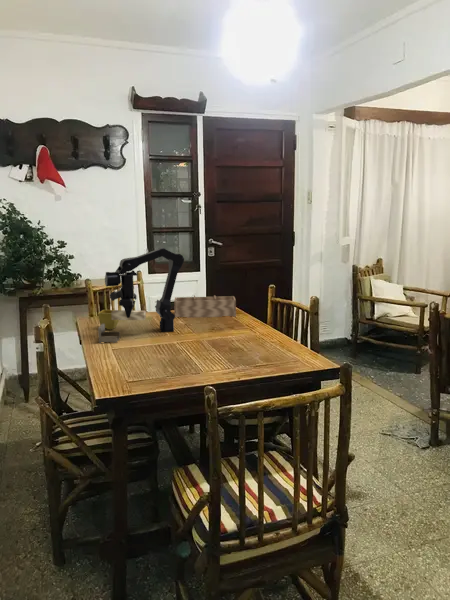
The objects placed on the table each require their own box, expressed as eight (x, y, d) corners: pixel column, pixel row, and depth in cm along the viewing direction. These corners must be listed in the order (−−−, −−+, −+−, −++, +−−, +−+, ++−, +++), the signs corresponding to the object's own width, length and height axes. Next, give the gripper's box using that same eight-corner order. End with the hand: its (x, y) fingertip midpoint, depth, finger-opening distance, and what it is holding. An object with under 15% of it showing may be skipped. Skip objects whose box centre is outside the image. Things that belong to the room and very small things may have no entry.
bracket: (120, 337, 235) (119, 323, 234) (117, 342, 225) (116, 328, 224) (102, 337, 235) (102, 323, 233) (98, 343, 225) (98, 328, 223)
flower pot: (120, 326, 257) (119, 309, 255) (115, 330, 248) (114, 313, 247) (104, 326, 258) (103, 309, 256) (98, 330, 249) (97, 313, 248)
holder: (234, 311, 292) (233, 294, 290) (235, 316, 280) (235, 298, 278) (175, 313, 290) (174, 295, 288) (174, 317, 278) (174, 299, 276)
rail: (145, 318, 240) (145, 310, 239) (144, 320, 236) (143, 311, 236) (113, 318, 241) (113, 310, 240) (111, 319, 238) (111, 311, 237)
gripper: (113, 282, 244) (114, 313, 247) (107, 288, 226) (108, 321, 229) (136, 282, 245) (137, 312, 248) (131, 287, 227) (132, 320, 230)
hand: (128, 316), depth 239 cm, fingers closed on rail, 4 cm apart
